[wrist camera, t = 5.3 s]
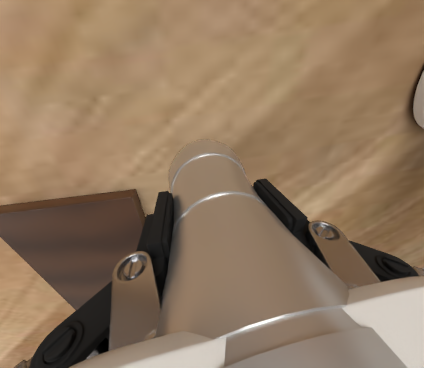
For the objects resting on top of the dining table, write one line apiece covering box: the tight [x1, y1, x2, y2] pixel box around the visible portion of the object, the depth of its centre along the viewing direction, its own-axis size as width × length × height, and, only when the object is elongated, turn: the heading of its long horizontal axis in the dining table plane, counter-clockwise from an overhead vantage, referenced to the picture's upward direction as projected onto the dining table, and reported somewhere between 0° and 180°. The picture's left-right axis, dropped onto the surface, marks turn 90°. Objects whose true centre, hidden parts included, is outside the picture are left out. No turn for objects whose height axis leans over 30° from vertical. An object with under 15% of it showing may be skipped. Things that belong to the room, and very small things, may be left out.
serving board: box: [0, 189, 145, 310], centre depth 19 cm, size 20×12×2 cm, turn 3°
